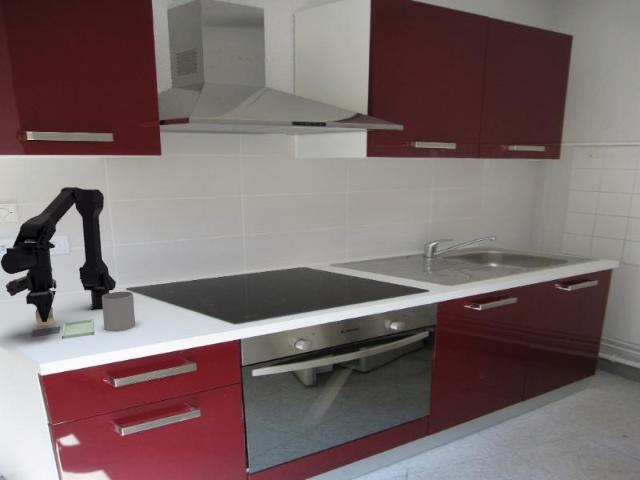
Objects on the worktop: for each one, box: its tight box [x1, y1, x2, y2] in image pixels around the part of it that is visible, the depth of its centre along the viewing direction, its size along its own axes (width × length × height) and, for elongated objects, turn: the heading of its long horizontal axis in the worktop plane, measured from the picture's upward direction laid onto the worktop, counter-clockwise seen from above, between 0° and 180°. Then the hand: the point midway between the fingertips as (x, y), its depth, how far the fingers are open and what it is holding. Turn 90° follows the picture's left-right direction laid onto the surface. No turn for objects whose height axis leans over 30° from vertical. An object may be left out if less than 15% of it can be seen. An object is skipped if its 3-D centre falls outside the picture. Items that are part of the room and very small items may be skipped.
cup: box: [102, 291, 136, 333], centre depth 146 cm, size 8×8×10 cm
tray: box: [61, 318, 95, 340], centre depth 145 cm, size 13×8×1 cm, turn 25°
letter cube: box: [34, 306, 55, 327], centre depth 143 cm, size 4×4×4 cm
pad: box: [30, 325, 61, 338], centre depth 143 cm, size 7×7×1 cm
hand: (45, 319), depth 143 cm, fingers closed on letter cube, 4 cm apart
